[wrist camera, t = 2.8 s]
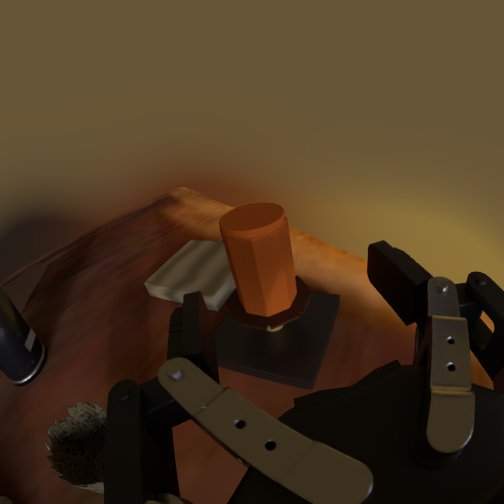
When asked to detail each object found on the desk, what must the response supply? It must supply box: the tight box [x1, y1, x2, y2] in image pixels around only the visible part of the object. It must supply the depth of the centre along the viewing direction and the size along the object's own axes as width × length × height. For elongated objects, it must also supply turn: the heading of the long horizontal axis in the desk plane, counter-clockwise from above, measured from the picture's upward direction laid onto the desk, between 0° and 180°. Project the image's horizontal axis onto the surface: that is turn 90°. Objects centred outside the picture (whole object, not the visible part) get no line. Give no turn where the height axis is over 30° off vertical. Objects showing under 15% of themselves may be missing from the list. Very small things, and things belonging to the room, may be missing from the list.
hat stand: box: [214, 292, 340, 390], centre depth 26 cm, size 12×12×14 cm
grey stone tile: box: [144, 240, 236, 312], centre depth 41 cm, size 13×13×2 cm
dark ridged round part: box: [45, 402, 107, 494], centre depth 14 cm, size 8×7×8 cm
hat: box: [219, 203, 311, 330], centre depth 25 cm, size 8×8×9 cm
